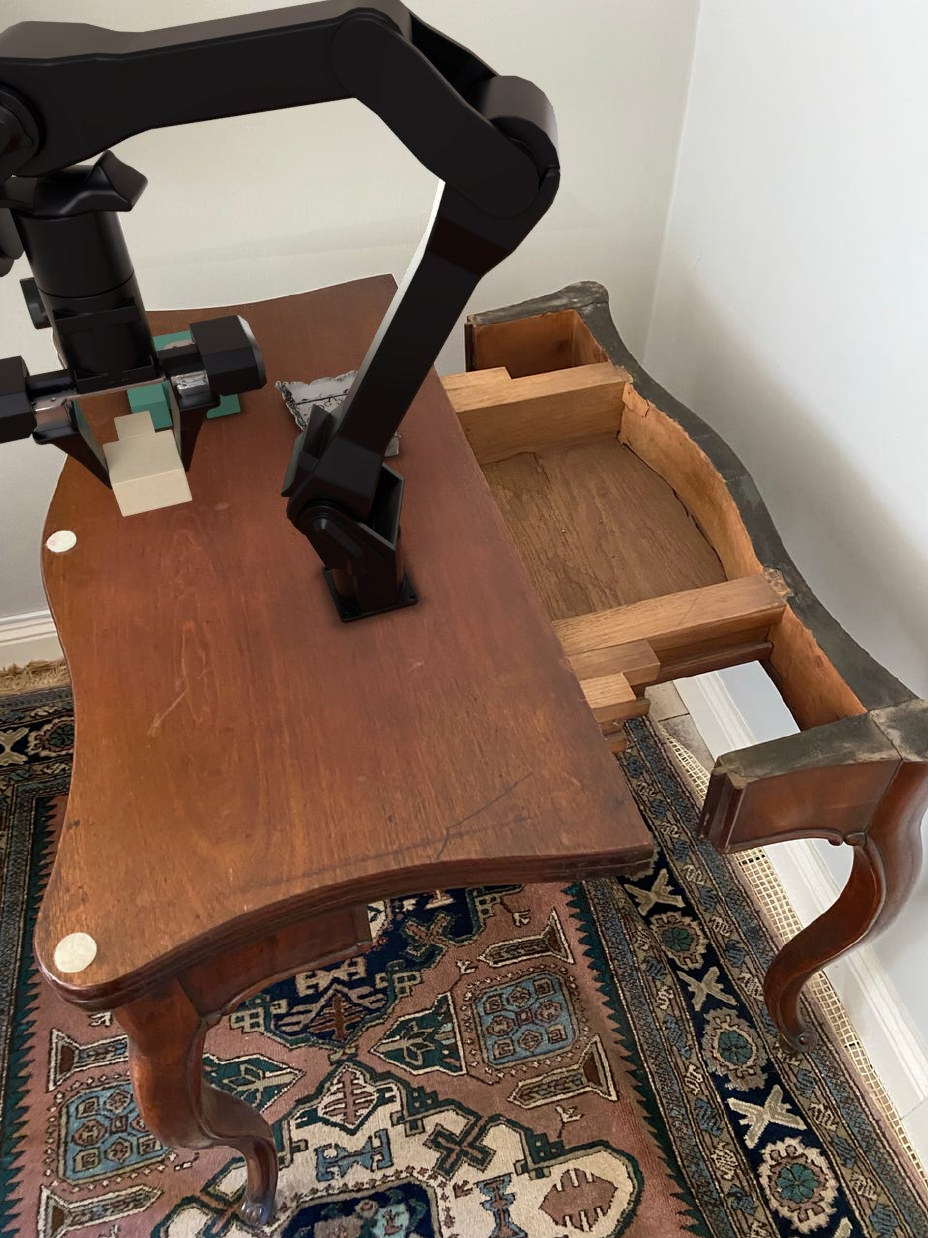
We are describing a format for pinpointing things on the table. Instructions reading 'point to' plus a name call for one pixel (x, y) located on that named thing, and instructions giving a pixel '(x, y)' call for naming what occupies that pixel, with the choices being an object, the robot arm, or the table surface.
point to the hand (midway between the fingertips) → (149, 477)
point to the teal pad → (159, 398)
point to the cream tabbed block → (145, 466)
